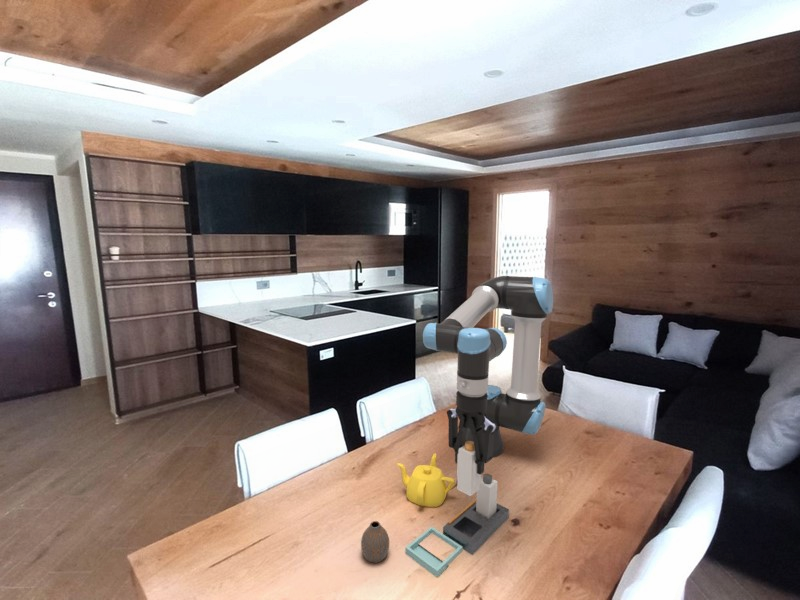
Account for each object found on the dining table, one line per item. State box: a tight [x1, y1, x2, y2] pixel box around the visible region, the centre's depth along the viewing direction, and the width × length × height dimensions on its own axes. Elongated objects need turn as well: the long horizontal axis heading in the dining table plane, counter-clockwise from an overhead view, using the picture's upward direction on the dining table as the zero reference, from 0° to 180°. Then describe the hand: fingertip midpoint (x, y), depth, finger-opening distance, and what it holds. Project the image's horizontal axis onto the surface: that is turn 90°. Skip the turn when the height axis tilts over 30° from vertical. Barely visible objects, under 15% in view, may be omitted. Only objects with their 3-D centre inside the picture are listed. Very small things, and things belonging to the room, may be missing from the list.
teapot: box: [396, 453, 455, 508], centre depth 117 cm, size 14×13×10 cm
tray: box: [404, 526, 464, 578], centre depth 97 cm, size 10×10×2 cm
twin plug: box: [475, 473, 499, 520], centre depth 107 cm, size 4×4×12 cm
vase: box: [360, 520, 390, 564], centre depth 95 cm, size 7×7×9 cm
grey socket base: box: [442, 498, 510, 556], centre depth 105 cm, size 9×18×4 cm, turn 136°
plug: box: [456, 441, 480, 497], centre depth 98 cm, size 4×4×12 cm
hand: (468, 479), depth 99 cm, fingers closed on plug, 4 cm apart
